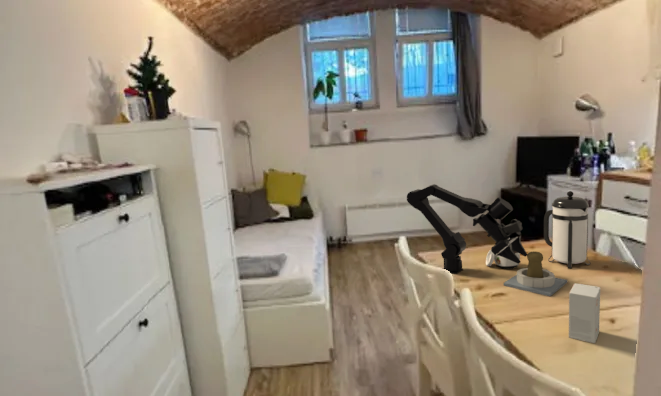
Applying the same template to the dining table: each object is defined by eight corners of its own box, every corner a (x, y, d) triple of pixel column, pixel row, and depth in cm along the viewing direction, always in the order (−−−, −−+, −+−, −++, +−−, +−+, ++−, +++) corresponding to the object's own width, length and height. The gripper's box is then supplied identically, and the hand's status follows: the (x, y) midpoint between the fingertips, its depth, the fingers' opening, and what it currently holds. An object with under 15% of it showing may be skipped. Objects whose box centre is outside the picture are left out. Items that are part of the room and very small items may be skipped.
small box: (573, 325, 115) (574, 282, 113) (599, 331, 111) (601, 286, 109) (567, 337, 109) (568, 292, 107) (595, 344, 105) (596, 297, 103)
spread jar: (523, 268, 162) (523, 241, 160) (498, 273, 160) (498, 244, 158) (503, 260, 174) (503, 234, 172) (480, 264, 171) (480, 237, 169)
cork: (548, 282, 144) (548, 253, 143) (535, 285, 142) (535, 255, 141) (534, 277, 150) (534, 248, 148) (522, 280, 148) (521, 251, 146)
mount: (503, 285, 147) (503, 275, 146) (522, 273, 157) (522, 263, 157) (550, 296, 135) (550, 285, 134) (567, 282, 145) (567, 272, 145)
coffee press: (590, 258, 167) (592, 188, 163) (590, 271, 154) (592, 194, 150) (543, 254, 177) (544, 187, 172) (540, 266, 164) (540, 193, 159)
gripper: (500, 219, 141) (534, 253, 136) (515, 209, 155) (546, 240, 150) (478, 238, 147) (509, 271, 142) (494, 226, 161) (523, 257, 156)
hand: (523, 259), depth 147 cm, fingers open, 9 cm apart
